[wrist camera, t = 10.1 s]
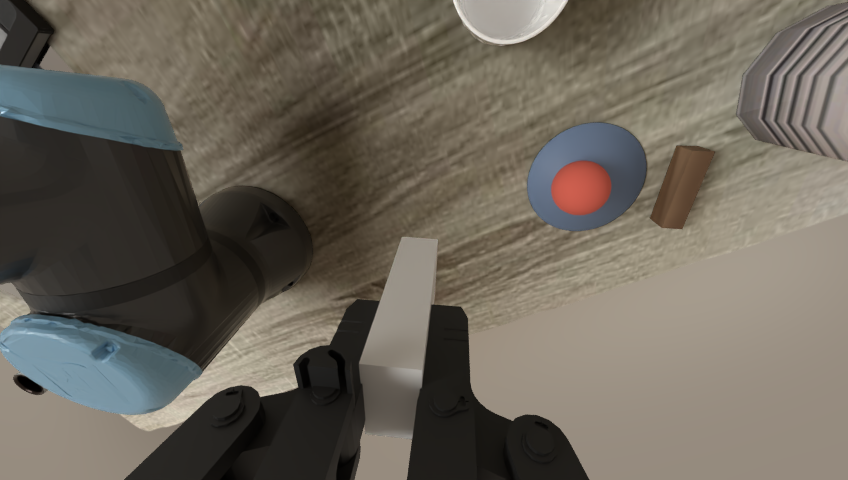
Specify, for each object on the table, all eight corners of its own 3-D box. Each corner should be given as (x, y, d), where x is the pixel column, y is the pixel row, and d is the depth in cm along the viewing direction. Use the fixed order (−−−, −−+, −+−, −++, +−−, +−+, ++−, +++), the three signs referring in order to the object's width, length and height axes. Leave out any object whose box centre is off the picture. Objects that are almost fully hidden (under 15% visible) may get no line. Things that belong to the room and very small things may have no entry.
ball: (613, 216, 33) (567, 200, 37) (630, 163, 31) (579, 152, 35) (581, 228, 31) (535, 209, 35) (596, 171, 28) (545, 158, 32)
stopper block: (650, 218, 36) (661, 227, 34) (676, 145, 32) (692, 150, 30) (669, 219, 36) (682, 229, 34) (698, 146, 32) (715, 151, 30)
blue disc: (519, 227, 38) (520, 227, 38) (537, 120, 33) (537, 121, 33) (625, 233, 37) (626, 234, 37) (662, 124, 32) (663, 124, 32)
